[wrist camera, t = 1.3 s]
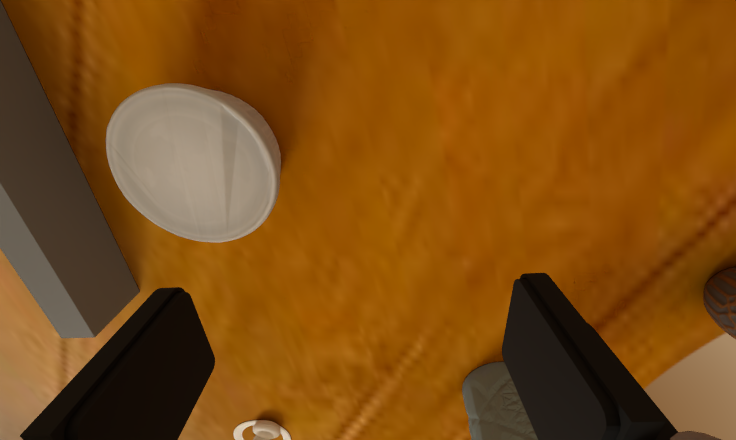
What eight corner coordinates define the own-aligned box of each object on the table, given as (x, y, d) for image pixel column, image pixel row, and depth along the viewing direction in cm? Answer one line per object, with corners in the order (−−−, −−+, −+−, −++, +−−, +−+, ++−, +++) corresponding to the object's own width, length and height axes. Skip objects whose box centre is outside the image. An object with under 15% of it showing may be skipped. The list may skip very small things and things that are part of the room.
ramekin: (316, 188, 28) (304, 216, 23) (207, 229, 30) (176, 262, 25) (247, 52, 23) (214, 51, 18) (124, 112, 25) (66, 125, 20)
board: (-72, -54, 20) (-231, -92, 15) (-27, -58, 20) (-171, -97, 15) (111, 292, 33) (61, 338, 28) (139, 291, 33) (94, 337, 28)
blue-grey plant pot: (534, 348, 36) (601, 473, 25) (546, 402, 40) (608, 528, 29) (445, 370, 38) (473, 494, 27) (466, 418, 42) (497, 543, 31)
